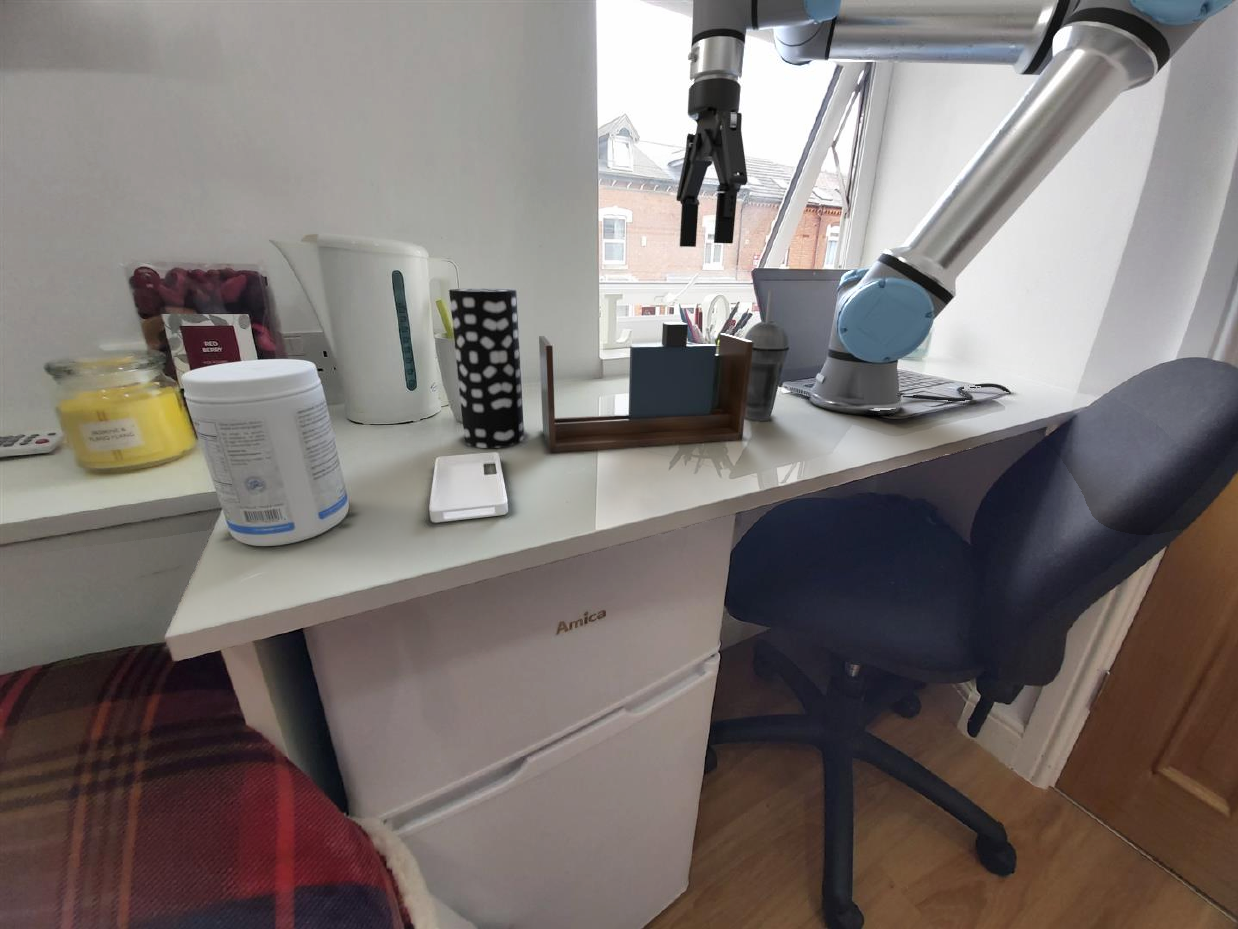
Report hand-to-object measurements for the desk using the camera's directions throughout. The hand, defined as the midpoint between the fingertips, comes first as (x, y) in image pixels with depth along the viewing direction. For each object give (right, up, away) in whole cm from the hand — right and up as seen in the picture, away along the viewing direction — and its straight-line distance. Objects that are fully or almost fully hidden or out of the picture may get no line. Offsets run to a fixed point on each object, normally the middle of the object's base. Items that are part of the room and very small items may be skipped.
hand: (704, 245), depth 79 cm
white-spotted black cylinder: (-31, -32, -9) cm, 45 cm away
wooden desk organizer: (-10, -31, -6) cm, 33 cm away
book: (-6, -30, -6) cm, 31 cm away
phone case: (-30, -38, -25) cm, 54 cm away
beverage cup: (+10, -27, +4) cm, 29 cm away
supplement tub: (-44, -41, -33) cm, 69 cm away
